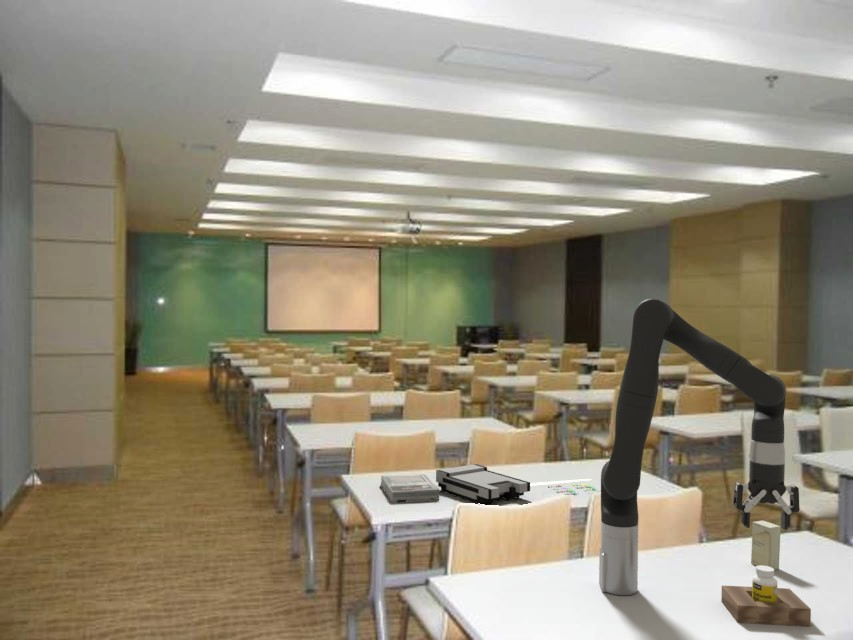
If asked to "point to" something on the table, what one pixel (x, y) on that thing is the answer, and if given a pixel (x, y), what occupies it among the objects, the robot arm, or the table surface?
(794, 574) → the table surface
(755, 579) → the supplement bottle
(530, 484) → the printed paper
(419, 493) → the hard drive
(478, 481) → the game console
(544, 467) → the table surface
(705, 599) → the table surface
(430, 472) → the table surface
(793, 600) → the walnut socket board
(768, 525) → the skincare box
